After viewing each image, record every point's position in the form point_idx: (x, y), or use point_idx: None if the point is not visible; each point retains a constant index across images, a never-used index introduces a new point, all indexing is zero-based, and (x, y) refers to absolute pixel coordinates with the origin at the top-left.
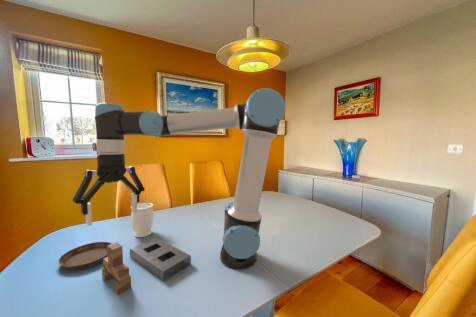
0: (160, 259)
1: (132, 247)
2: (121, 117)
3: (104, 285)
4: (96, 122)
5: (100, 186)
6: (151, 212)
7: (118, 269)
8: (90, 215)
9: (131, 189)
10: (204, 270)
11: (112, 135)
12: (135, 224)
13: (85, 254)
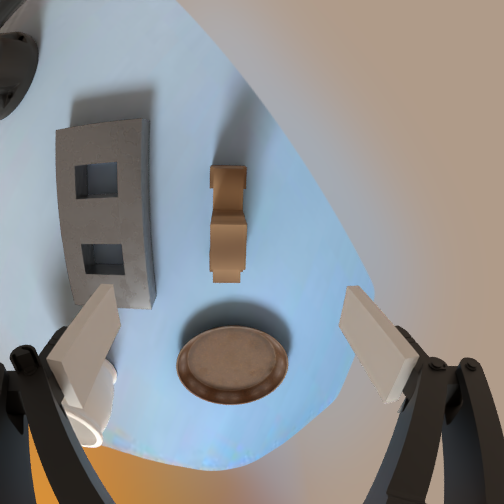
0: (110, 195)
1: (143, 308)
2: None
3: (249, 227)
4: None
5: (394, 481)
6: None
7: (237, 185)
8: (373, 313)
9: (66, 422)
10: (68, 85)
11: None
12: (105, 391)
13: (230, 378)
